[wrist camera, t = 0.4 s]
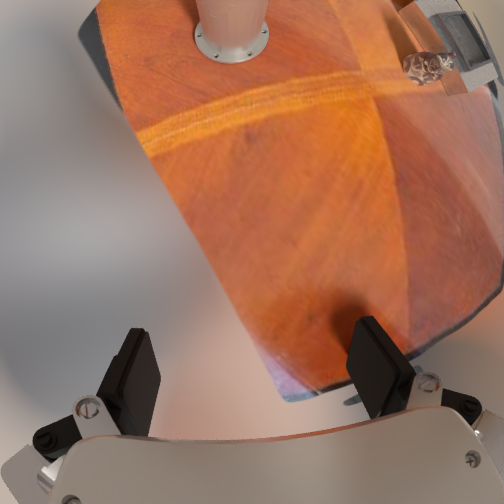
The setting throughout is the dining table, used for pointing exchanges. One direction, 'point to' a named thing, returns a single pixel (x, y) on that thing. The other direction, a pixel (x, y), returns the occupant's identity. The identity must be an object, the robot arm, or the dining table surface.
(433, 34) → the grey box with knob
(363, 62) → the dining table surface
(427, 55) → the figurine
